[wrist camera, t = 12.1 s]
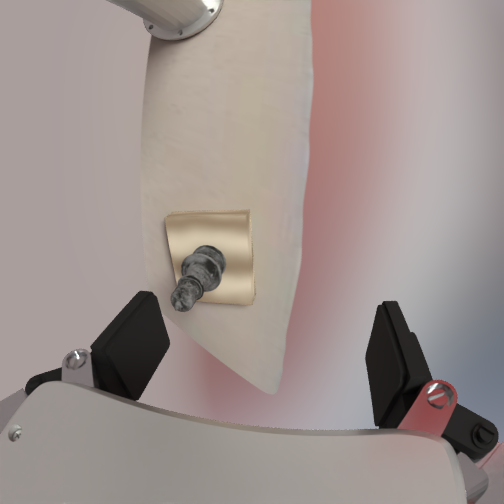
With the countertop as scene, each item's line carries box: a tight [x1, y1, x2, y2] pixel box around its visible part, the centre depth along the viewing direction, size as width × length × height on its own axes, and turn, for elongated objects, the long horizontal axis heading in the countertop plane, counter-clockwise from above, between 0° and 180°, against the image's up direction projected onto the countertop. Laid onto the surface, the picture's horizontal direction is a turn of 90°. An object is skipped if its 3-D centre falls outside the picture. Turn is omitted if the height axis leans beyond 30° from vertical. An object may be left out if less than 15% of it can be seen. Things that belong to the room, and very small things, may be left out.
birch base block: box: [164, 210, 256, 305], centre depth 41 cm, size 14×12×3 cm
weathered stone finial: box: [171, 245, 226, 312], centre depth 34 cm, size 6×6×12 cm
